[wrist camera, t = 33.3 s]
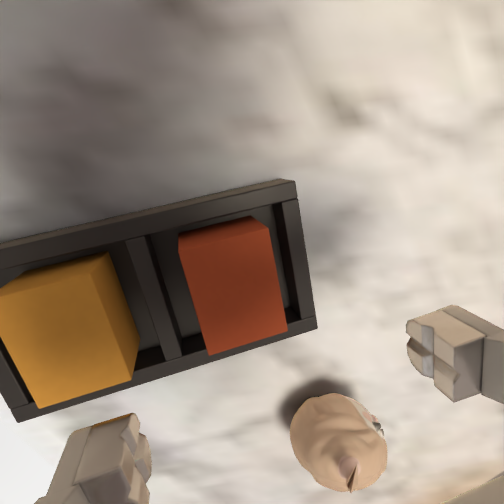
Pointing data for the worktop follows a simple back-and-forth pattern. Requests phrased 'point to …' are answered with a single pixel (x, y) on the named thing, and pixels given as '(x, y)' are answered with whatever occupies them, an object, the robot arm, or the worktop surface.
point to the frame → (165, 279)
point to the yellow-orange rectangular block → (69, 328)
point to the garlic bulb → (339, 442)
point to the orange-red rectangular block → (233, 282)
